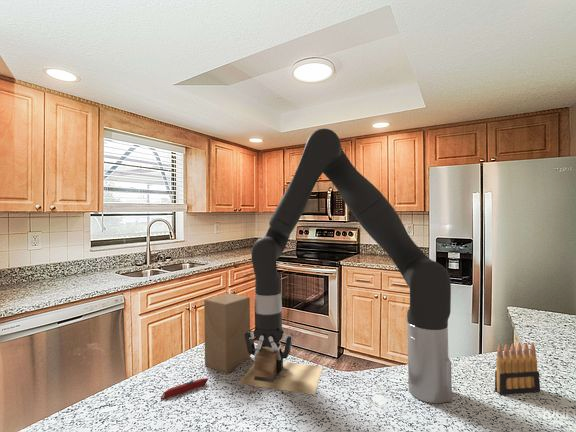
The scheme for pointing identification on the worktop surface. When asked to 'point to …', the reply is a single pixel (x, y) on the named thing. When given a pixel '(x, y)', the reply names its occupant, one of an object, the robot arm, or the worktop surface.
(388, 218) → the robot arm
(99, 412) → the worktop surface
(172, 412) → the worktop surface
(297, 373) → the pine board
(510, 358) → the ammunition clip
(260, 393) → the worktop surface
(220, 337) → the wooden block
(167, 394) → the utility knife
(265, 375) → the block
